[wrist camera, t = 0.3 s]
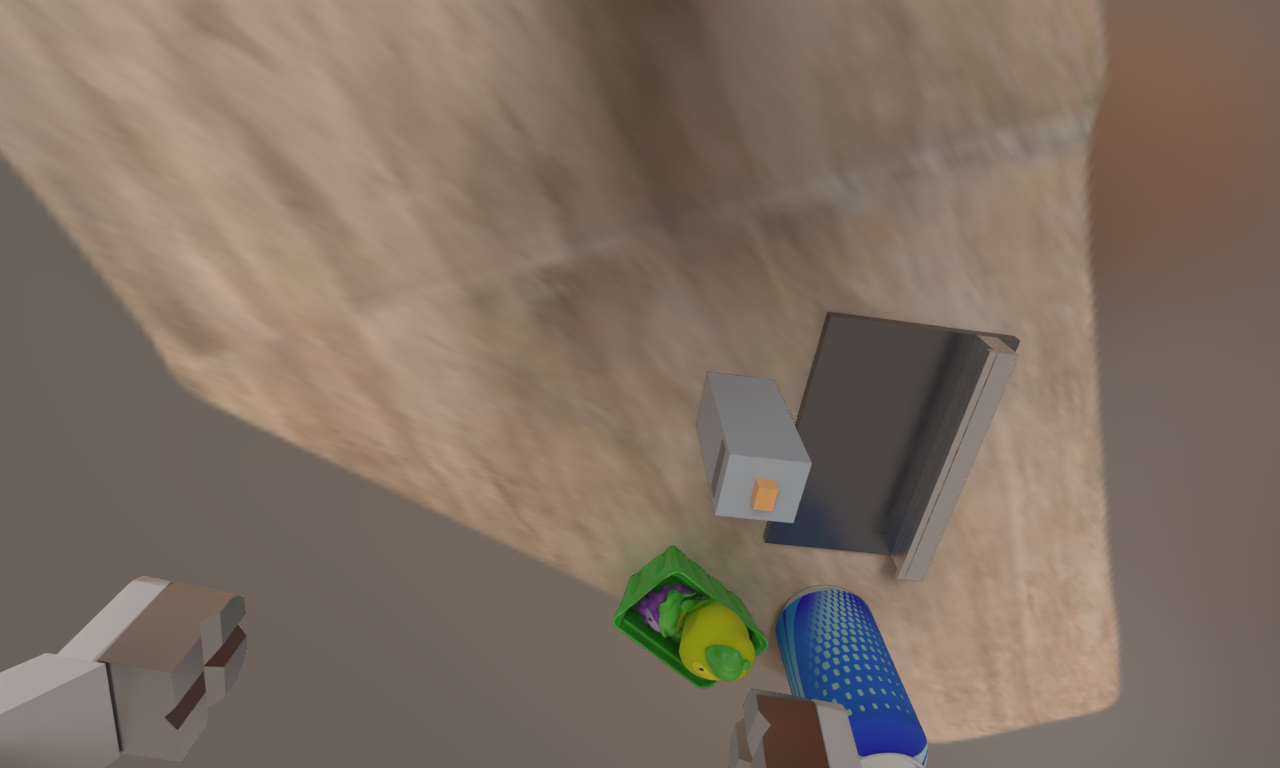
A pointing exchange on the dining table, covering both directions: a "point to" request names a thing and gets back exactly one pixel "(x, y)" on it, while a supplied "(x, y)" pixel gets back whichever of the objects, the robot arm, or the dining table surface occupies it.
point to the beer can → (850, 674)
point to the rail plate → (892, 434)
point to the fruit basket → (689, 621)
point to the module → (750, 449)
